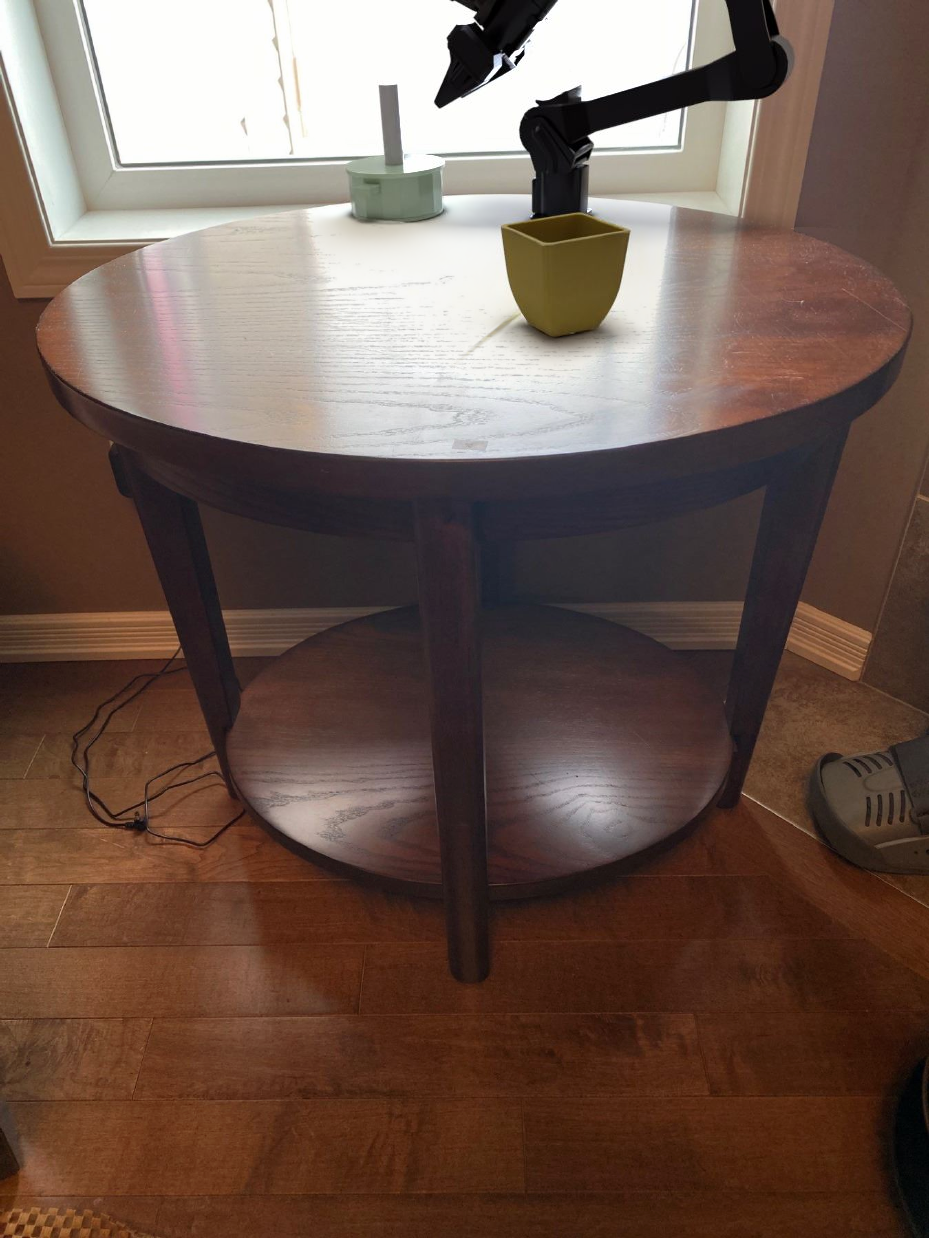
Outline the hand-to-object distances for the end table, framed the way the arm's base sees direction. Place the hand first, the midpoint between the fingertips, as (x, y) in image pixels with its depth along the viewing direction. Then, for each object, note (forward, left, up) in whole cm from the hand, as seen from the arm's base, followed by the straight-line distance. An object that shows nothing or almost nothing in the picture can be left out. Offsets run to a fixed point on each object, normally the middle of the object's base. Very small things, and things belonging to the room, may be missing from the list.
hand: (448, 100), depth 116 cm
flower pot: (-30, +38, -14) cm, 50 cm away
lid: (+8, +1, -8) cm, 11 cm away
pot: (+8, +1, -14) cm, 16 cm away
